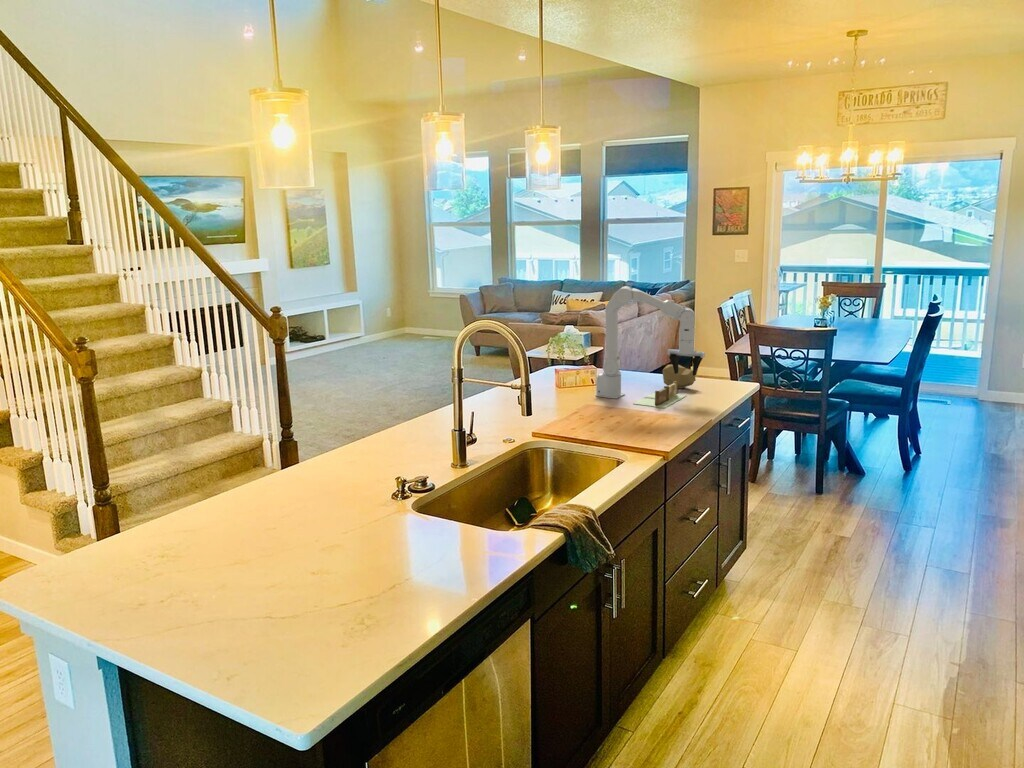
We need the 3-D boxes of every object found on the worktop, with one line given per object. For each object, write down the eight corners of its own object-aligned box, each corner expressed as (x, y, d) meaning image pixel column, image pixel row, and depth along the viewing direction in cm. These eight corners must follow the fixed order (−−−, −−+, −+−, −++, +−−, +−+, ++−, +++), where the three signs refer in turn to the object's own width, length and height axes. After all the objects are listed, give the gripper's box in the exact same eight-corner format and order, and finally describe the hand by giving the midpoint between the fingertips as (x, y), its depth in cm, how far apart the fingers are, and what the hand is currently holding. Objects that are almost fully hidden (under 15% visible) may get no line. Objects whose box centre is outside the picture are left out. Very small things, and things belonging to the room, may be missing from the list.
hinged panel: (669, 398, 300) (670, 385, 299) (665, 397, 301) (666, 385, 299) (677, 393, 306) (678, 381, 305) (674, 393, 307) (674, 381, 306)
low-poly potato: (654, 387, 323) (661, 380, 312) (659, 363, 326) (666, 355, 315) (688, 396, 323) (697, 389, 312) (693, 372, 326) (701, 365, 315)
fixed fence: (653, 406, 292) (654, 391, 290) (664, 399, 300) (665, 385, 299) (658, 406, 290) (658, 391, 289) (669, 400, 299) (670, 386, 298)
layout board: (633, 404, 295) (633, 403, 295) (655, 392, 313) (655, 391, 313) (664, 408, 288) (665, 407, 288) (686, 396, 306) (686, 395, 306)
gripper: (708, 339, 296) (706, 374, 299) (672, 336, 304) (671, 370, 307) (701, 342, 290) (700, 377, 293) (665, 339, 298) (664, 373, 301)
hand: (685, 374), depth 299 cm, fingers open, 7 cm apart
